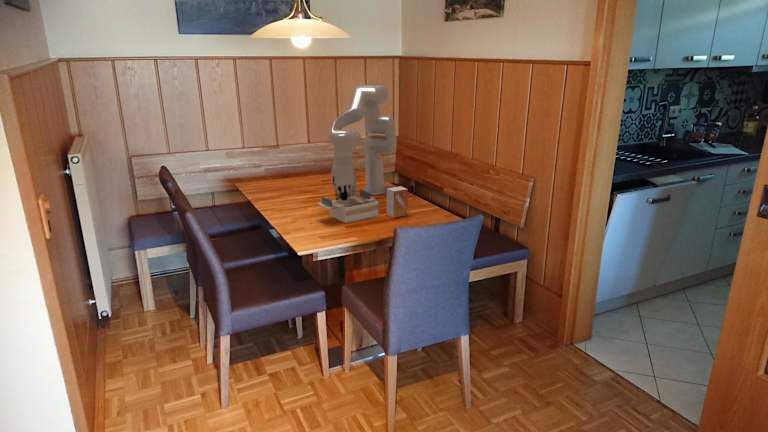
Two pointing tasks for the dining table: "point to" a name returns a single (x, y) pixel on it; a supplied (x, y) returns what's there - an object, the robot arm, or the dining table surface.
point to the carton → (354, 210)
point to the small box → (397, 201)
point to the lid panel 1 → (329, 204)
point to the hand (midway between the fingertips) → (343, 199)
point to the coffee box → (350, 192)
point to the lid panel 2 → (362, 197)
